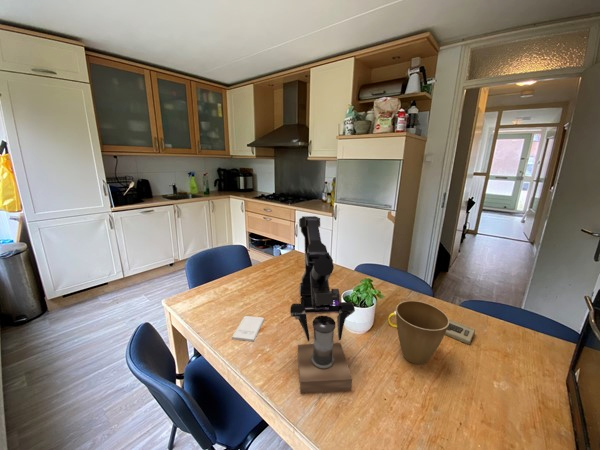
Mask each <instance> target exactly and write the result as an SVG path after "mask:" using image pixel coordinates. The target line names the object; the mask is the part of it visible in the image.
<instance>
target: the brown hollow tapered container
mask: <svg viewBox="0 0 600 450" xmlns="http://www.w3.org/2000/svg"><path fill="white" fill-rule="evenodd" d="M395 311H396V316H395V318H396V325H397V327H396V329H397V336H398V341H399V346H400V348H401V352H402V355H403V357H404V359H406V361H408V362H410V363H411V364H413V365H418V366H419V365H426V364H427V362H429V360H430V359H431V358H432V357H433V356H434V354H435V353H436V351H437V349H438V348H439V346H440V345H441V342H442V341H443V340H444V337H445V336H446V335H445V333H446V330H447V328H448V325H449V319H450V318H449V316H447V314H446V313H445V312H444V311H442V310H441V309H440V308H438V307H436V306H434V305H432V304H430V303H427V302H424V301H419V300H405V301H401V302H399V303H398V304H397V305H396V306H395Z"/></svg>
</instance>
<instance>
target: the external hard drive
mask: <svg viewBox="0 0 600 450" xmlns="http://www.w3.org/2000/svg"><path fill="white" fill-rule="evenodd" d="M264 321H265V318H264V317H259V316H258V317H257V316H249V315H244V317H242V320H241V321H240V323H239V324H238V326H237V328H236V329H235V331H234V333H233V335H232V336H231V340H235V341H245V342H251V343H253V342H255V341H256V338H257V336H258V334H259V332H260V330H261V328H262V326H263V323H264Z"/></svg>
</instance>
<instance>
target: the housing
mask: <svg viewBox="0 0 600 450" xmlns="http://www.w3.org/2000/svg"><path fill="white" fill-rule="evenodd" d="M312 327H313V344H314V347H313V354H312V356H311V362H312V364H313V365H314V366H315V367H316V368H318V369H323V370H324V369H329V368H331V367H332V366H333V364H334V356H333V355H332V352H333V343H334V335H335V334H334V331H335V329H336V321H335V319H333V318H332V317H331V316H327V315H318V316H315V317H314V318H313V320H312Z"/></svg>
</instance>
